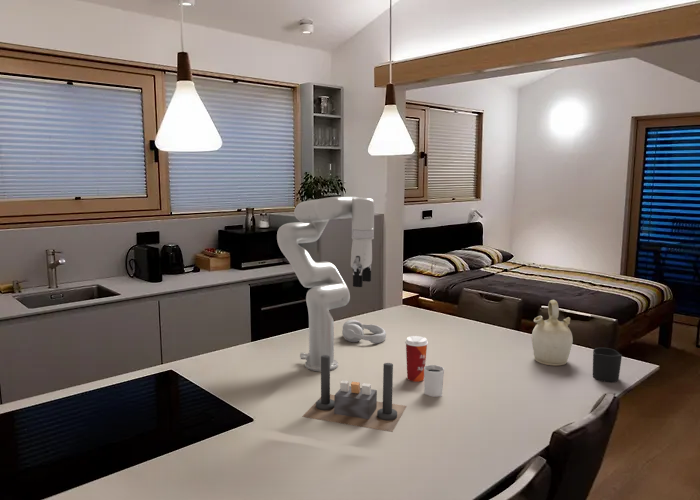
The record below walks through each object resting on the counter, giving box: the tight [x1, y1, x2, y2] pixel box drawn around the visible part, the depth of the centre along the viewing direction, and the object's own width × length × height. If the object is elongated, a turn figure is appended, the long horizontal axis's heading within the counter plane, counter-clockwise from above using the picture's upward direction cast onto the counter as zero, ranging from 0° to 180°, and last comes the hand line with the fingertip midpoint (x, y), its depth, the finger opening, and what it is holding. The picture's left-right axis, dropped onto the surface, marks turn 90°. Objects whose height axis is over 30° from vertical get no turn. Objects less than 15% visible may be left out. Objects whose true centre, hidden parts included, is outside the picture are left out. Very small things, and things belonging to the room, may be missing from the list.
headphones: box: [341, 319, 387, 344], centre depth 240 cm, size 18×8×20 cm
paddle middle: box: [350, 381, 361, 394], centre depth 162 cm, size 2×1×3 cm, turn 71°
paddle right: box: [361, 382, 372, 395], centre depth 161 cm, size 2×1×3 cm, turn 71°
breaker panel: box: [302, 385, 408, 433], centre depth 163 cm, size 28×18×8 cm, turn 71°
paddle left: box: [339, 379, 350, 392], centre depth 163 cm, size 2×1×3 cm, turn 71°
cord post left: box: [315, 355, 334, 411], centre depth 166 cm, size 6×6×16 cm
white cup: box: [423, 364, 445, 398], centre depth 177 cm, size 7×7×10 cm
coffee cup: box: [404, 335, 429, 383], centre depth 193 cm, size 8×8×15 cm
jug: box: [531, 299, 574, 367], centre depth 212 cm, size 15×16×25 cm
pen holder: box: [592, 347, 623, 383], centre depth 195 cm, size 9×9×10 cm
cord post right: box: [377, 362, 397, 421], centre depth 159 cm, size 6×6×16 cm
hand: (362, 283), depth 183 cm, fingers open, 9 cm apart
